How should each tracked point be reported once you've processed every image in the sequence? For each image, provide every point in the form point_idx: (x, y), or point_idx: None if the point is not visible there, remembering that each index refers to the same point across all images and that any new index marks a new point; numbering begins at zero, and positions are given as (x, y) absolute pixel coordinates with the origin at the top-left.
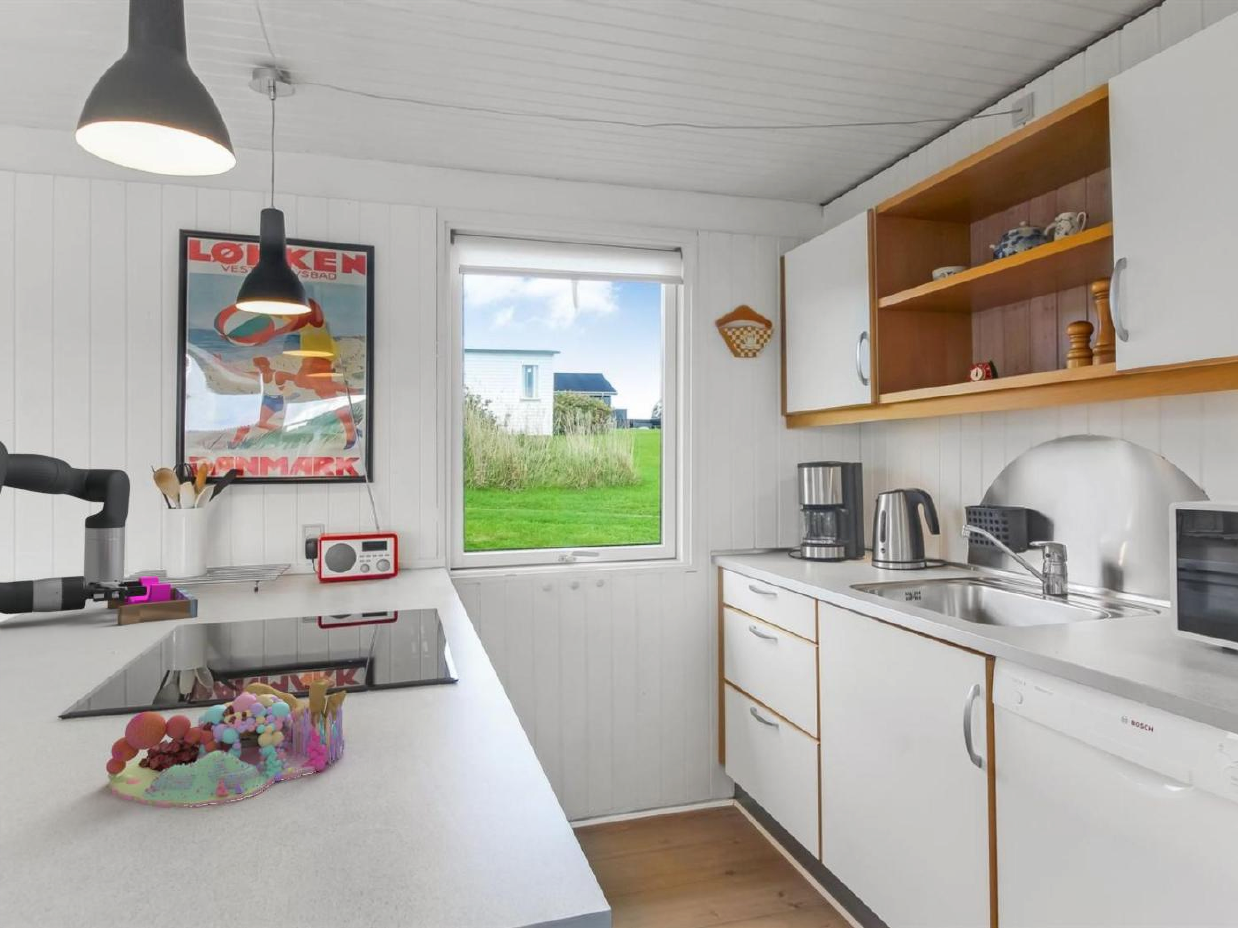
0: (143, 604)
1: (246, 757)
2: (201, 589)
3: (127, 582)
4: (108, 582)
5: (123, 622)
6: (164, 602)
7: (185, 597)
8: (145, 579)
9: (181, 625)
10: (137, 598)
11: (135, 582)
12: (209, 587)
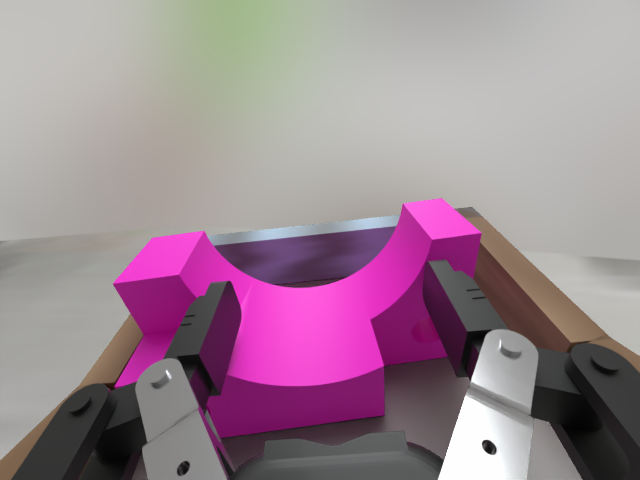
0: (595, 325)
1: None
2: (59, 248)
3: (207, 336)
4: (226, 472)
5: None
6: (528, 263)
7: (390, 230)
8: (189, 266)
9: (622, 280)
10: (277, 355)
11: (222, 303)
12: (55, 239)
